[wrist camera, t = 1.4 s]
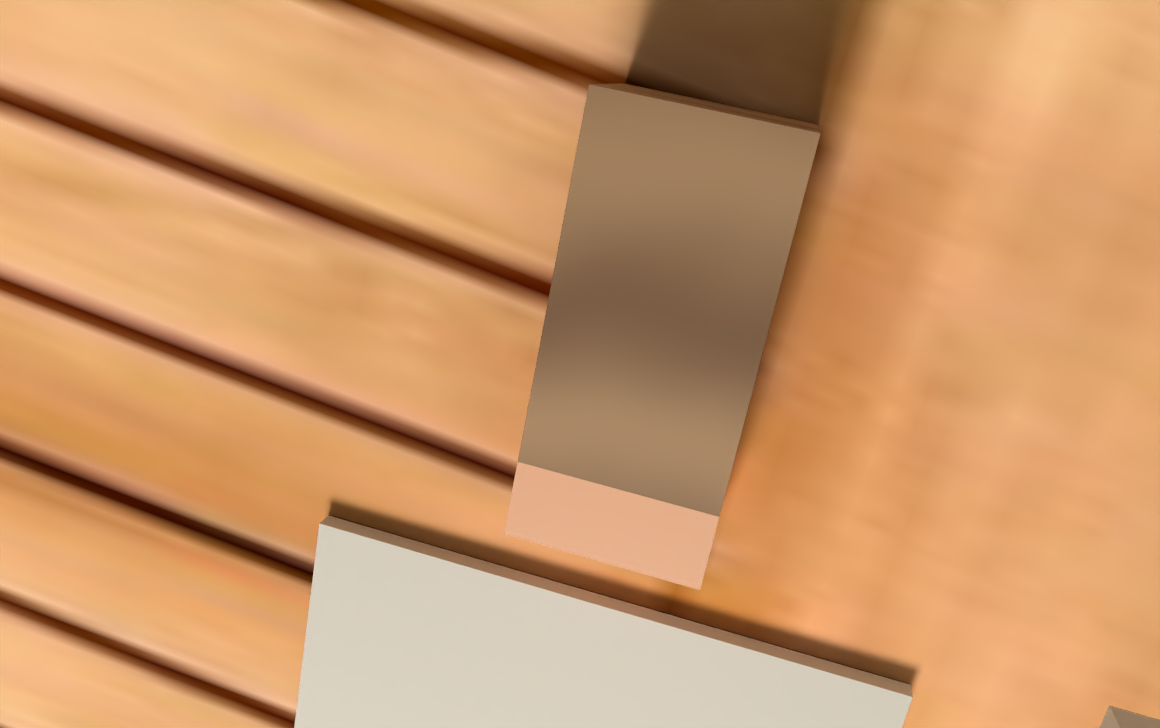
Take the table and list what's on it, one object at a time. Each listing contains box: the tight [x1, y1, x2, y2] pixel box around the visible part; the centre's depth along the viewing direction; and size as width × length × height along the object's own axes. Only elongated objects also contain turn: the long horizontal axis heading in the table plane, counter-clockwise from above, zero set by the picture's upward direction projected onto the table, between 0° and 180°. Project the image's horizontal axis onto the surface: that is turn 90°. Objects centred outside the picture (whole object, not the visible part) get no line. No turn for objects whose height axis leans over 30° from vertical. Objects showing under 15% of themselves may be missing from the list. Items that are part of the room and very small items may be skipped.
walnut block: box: [504, 84, 821, 590], centre depth 25 cm, size 11×5×4 cm, turn 169°
